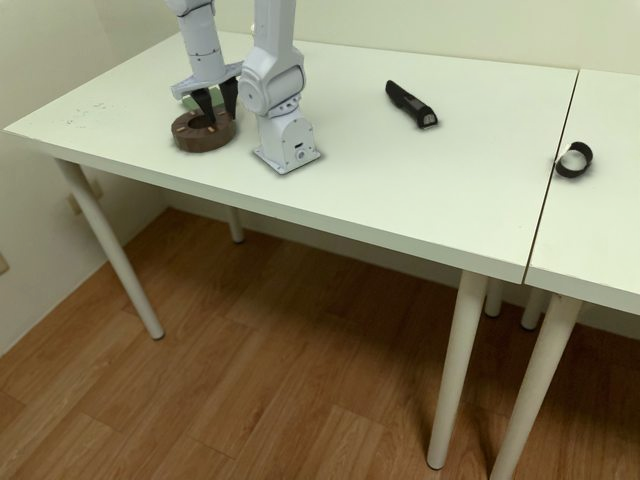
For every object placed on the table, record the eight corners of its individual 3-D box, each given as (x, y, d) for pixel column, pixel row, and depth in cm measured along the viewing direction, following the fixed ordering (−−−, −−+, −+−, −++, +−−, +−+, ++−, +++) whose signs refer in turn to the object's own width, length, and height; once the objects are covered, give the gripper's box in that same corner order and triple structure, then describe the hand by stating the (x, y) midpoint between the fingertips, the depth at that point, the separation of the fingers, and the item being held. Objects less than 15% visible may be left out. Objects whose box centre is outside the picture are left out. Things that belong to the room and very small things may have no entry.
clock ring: (246, 136, 86) (242, 120, 84) (190, 159, 82) (185, 144, 80) (219, 115, 93) (215, 100, 91) (167, 135, 89) (161, 120, 87)
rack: (233, 104, 96) (226, 72, 91) (198, 118, 93) (188, 86, 89) (217, 91, 101) (209, 61, 97) (183, 104, 98) (173, 73, 94)
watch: (564, 150, 73) (570, 130, 71) (596, 159, 71) (604, 138, 69) (545, 175, 69) (551, 154, 67) (579, 185, 67) (586, 164, 65)
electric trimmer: (397, 91, 94) (397, 76, 91) (439, 124, 83) (440, 108, 80) (380, 96, 93) (380, 81, 91) (420, 130, 82) (421, 113, 80)
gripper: (231, 31, 84) (246, 101, 93) (155, 56, 79) (179, 127, 88) (249, 41, 80) (263, 113, 89) (170, 68, 74) (194, 142, 84)
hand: (222, 121), depth 88 cm, fingers closed on clock ring, 3 cm apart
